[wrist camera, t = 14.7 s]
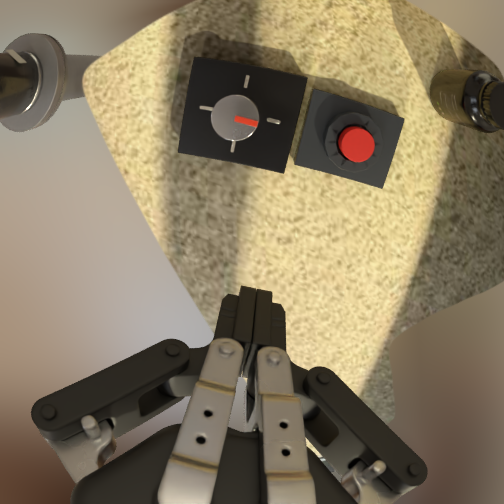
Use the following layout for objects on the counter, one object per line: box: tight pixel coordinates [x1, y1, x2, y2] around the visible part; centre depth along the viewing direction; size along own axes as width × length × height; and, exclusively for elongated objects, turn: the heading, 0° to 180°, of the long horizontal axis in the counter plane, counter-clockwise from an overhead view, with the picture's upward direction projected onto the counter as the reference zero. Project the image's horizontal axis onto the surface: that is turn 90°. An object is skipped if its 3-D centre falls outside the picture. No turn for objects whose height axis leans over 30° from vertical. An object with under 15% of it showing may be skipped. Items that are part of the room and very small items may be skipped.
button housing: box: [294, 89, 404, 189], centre depth 33 cm, size 11×9×4 cm
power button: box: [338, 126, 375, 162], centre depth 31 cm, size 4×4×2 cm
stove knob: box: [211, 94, 261, 141], centre depth 29 cm, size 4×4×5 cm
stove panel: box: [178, 57, 308, 174], centre depth 32 cm, size 12×11×3 cm
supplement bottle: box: [430, 69, 504, 133], centre depth 24 cm, size 7×7×12 cm
